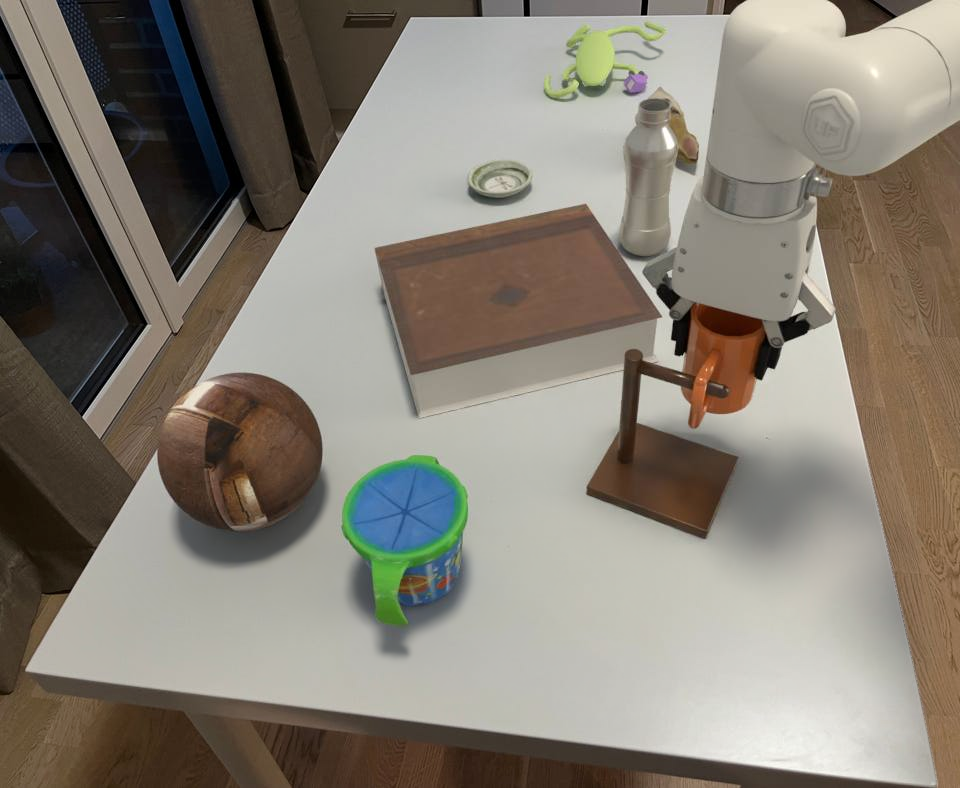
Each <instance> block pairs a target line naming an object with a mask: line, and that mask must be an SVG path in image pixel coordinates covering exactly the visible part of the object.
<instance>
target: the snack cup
mask: <svg viewBox="0 0 960 788" xmlns="http://www.w3.org/2000/svg"><path fill="white" fill-rule="evenodd" d="M468 497H469V495H468V492H467V489H466V487H465V486H464V485H463V484H462V483H461V481H460V480H459V478H458V477H457V476H456V475H455V474H454V473H453V472H452V471H450V470H449V469H448V468H446V467H444V466H442V465H441V464H440V463H439V460H438V458H437V457H436V456H431V455H422V454H412V455H411V456H409V457H407V458H406V459H400V460H399V459H398V460H394V461H391V462H387V463H383V464H382V465H379V466H377V467H375V468H373V469H372V470H369V472H367V473H365V474H364V475H363V476H361V478H360V479H358V480H357V482H356V483H355V484H354V485H353V486H352V487H351V489H350V490H349V492H348V493H347V495H346V497H345V500H344V503H343V506H342V514H341V516H342V517H341V518H342V524H341V530H342V534H343V537H344V538H345V539H346V540H347V541H348V543H349V544H350V546H351V547H352V549H353V550H354V551H355V552H357V554H358V555H359V556H361V558H362V559H363V562H364V563H365V564H366V566H367V567H368V569H369V571H370V572H371V576H372V589H373V598H374V605H375V609H374V610H375V611H374V612H375V614H374V617H375V619H376V620H377V622H380V623H382V624H386V625H389V626H396V627H397V626H398V627H406V626H407V625H408V624H409V620H408V619H407V617H405V615H404V612H403V610H402V607H401V604H403V605H405V606H406V607H417V606H420V605H421V606H422V605H425V604H430V603H433V602H435V601H437V600H439V599H441V598H442V597H444V596H445V595H448V594H449V593H450V591H452V589H453V587H454V584H455V583H456V581H457V580H458V577H459V573H460V570H461V563H462V551H463V539H464V531H465V529H466V526H467V523H468V517H469V506H468V505H469V504H468Z"/></svg>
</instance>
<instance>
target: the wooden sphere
mask: <svg viewBox="0 0 960 788" xmlns="http://www.w3.org/2000/svg"><path fill="white" fill-rule="evenodd" d="M160 428H161V429H160V432H159V436H158V439H157V440H158V441H157V450H156V457H157V458H156V459H157V466H158V472H159V475H160V478H161V481H162V484H163V486H164V487H165V490H166V491H167V493H168V495H169V497H170V499H172V501H173V502H174V504H176V505H177V506H178V507H179V509H180V510H181V511H183V512H184V513H185V514H186V515H188V516H189V517H190V518H192V519H194V520H195V521H197V522H199V523H201V524H203V525H205V526H207V527H211V528H213V529H216V530H221V531H226V532H249V531H255V530H261V529H263V528H266V527H267V528H268V527H269V526H273V525H274V524H277V523H278V522H281V521H282V520H283V519H285V518H287V517H288V516H289V515H291V514H292V513H293V512H295V511H296V510H297V509H298V508H299V507H300V506H301V505H303V503H304V502H305V501H306V499H307V498H308V496H309V495H310V493H311V492H312V490H313V488H314V487H315V485H316V483H317V481H318V478H319V475H320V471H321V467H322V463H323V453H324V452H323V451H324V450H323V438H322V433H321V429H320V426H319V423H318V421H317V417H316V416H315V414H314V413H313V411H312V409H311V407H309V405H308V404H307V402H306V401H305V400H304V398H302V396H301V395H299V394H298V393H297V392H296V391H295V390H294V389H293V388H291V387H289V386H288V385H286V384H285V383H283V382H282V381H279V380H278V379H275V378H273V377H270V376H267V375H263V374H259V373H255V372H254V373H253V372H231V373H224V374H219V375H216V376H213V377H211V378H208V379H206V380H204V381H201V382H199V383H197V384H196V385H195V386H193V387H192V388H190V389H189V390H187V391H186V392H185V393H184V394H183V395H182V396H181V397H180V398H179V399H178V400H177V401H176V402H175V403H174V404H173V406H172V407H171V409H170V410H169V412H168V413H167V415H166V417H165V419H164V421H163V423H162V425H161V427H160Z"/></svg>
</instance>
